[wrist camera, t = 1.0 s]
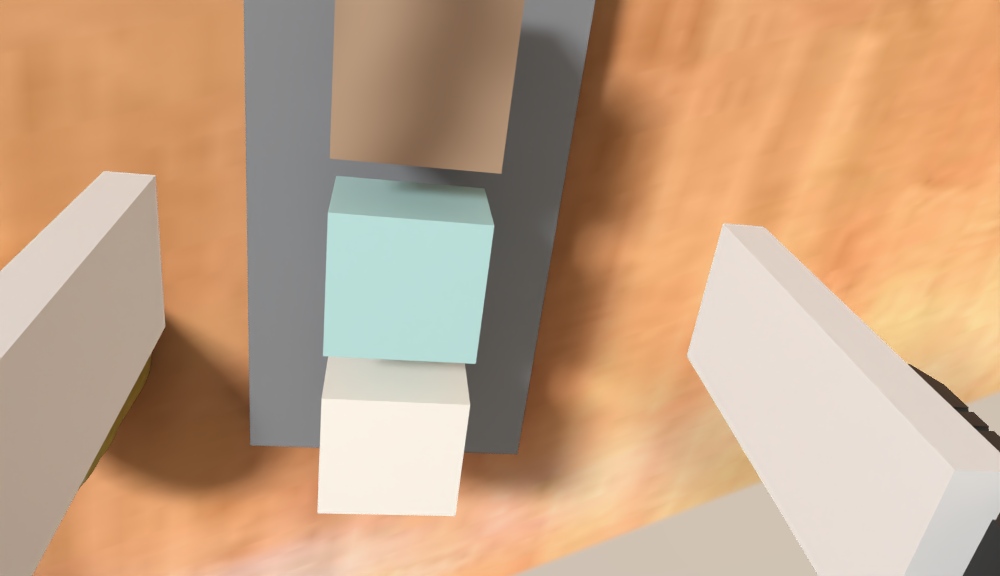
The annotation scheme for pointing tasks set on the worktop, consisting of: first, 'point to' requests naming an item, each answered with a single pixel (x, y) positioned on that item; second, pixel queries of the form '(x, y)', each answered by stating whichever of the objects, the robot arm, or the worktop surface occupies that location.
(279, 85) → the console
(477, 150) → the walnut key
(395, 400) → the ivory key
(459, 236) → the teal key
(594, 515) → the worktop surface
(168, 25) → the worktop surface
